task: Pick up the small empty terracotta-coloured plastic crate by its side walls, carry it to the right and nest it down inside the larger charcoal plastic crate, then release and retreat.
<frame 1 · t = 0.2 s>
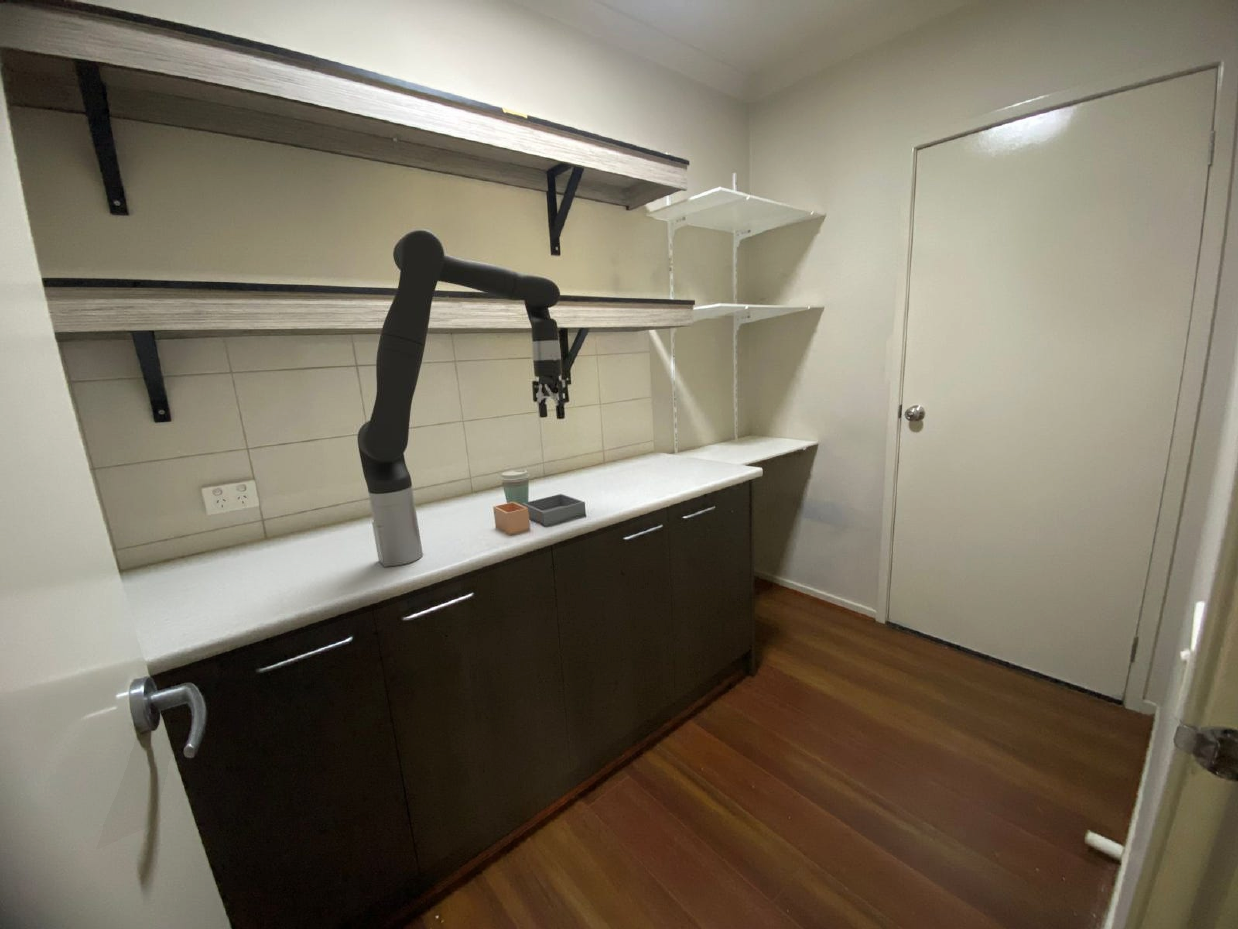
hand: (552, 418, 136), 28 cm above the table, fingers open, 8 cm apart
coffee cup: (518, 511, 149), on the table
big crate: (554, 515, 141), on the table
small crate: (512, 528, 133), on the table
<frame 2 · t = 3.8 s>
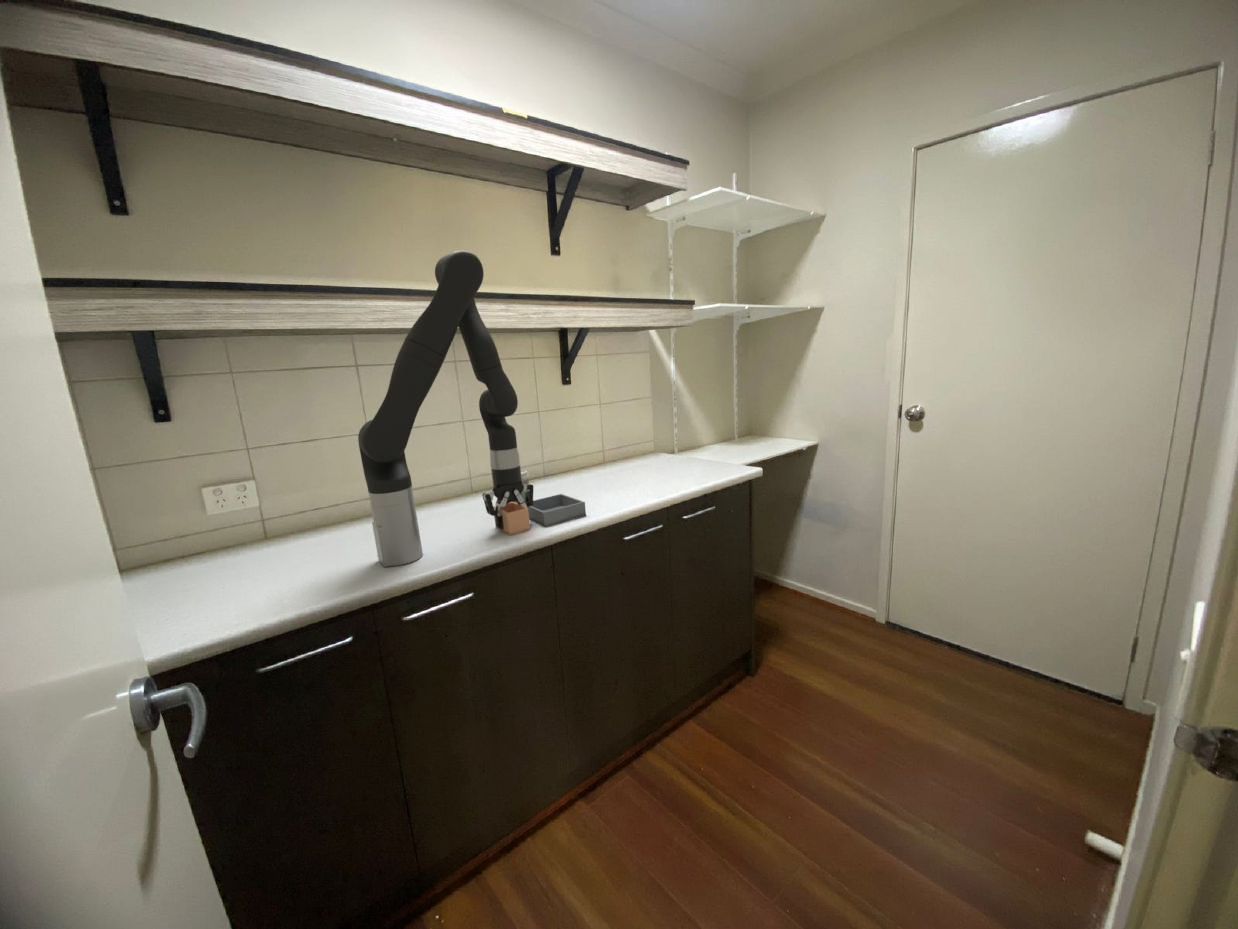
hand: (512, 525, 132), 1 cm above the table, fingers closed on small crate, 6 cm apart
small crate: (512, 528, 133), on the table, touching gripper
everything else where it was.
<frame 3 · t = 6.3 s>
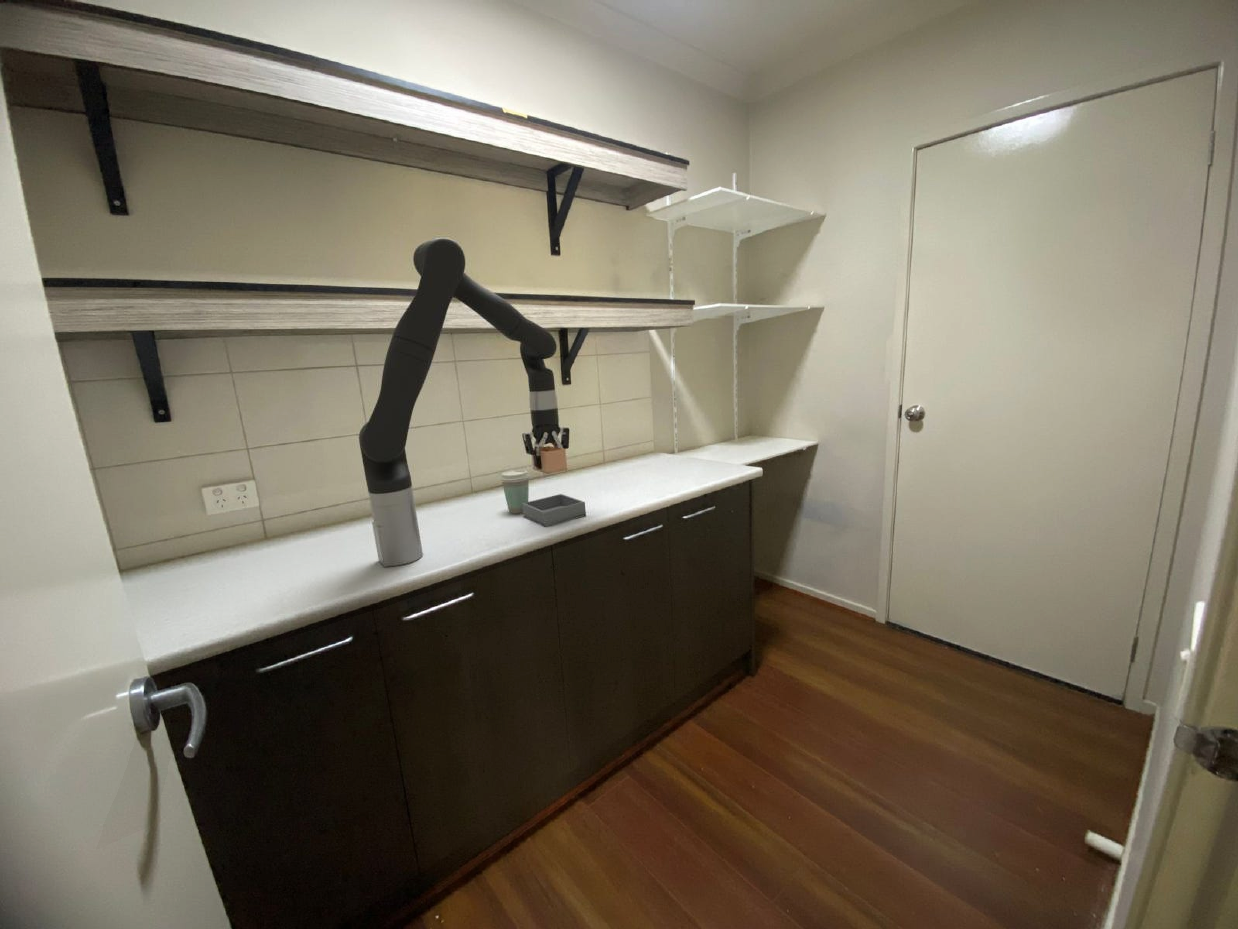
hand: (549, 466, 138), 15 cm above the table, fingers closed on small crate, 6 cm apart
small crate: (549, 469, 138), point 14 cm above the table, touching gripper
everything else where it was.
when the fingers open (3 cm above the table, at t = 9.3 s): small crate drops 1 cm, resting on big crate.
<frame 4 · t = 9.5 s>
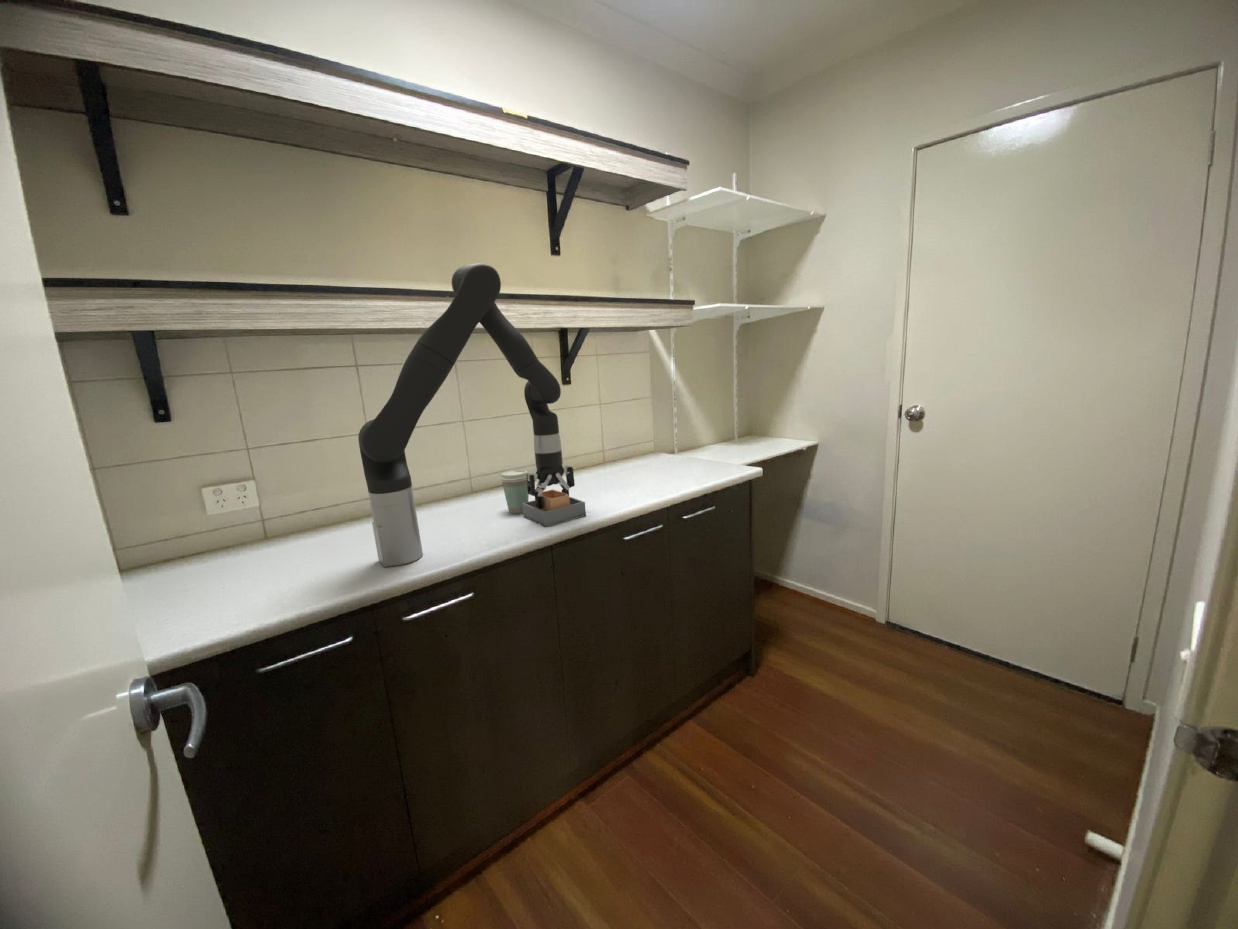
hand: (553, 505, 141), 3 cm above the table, fingers open, 8 cm apart
small crate: (553, 514, 141), point 1 cm above the table, touching big crate
everything else where it was.
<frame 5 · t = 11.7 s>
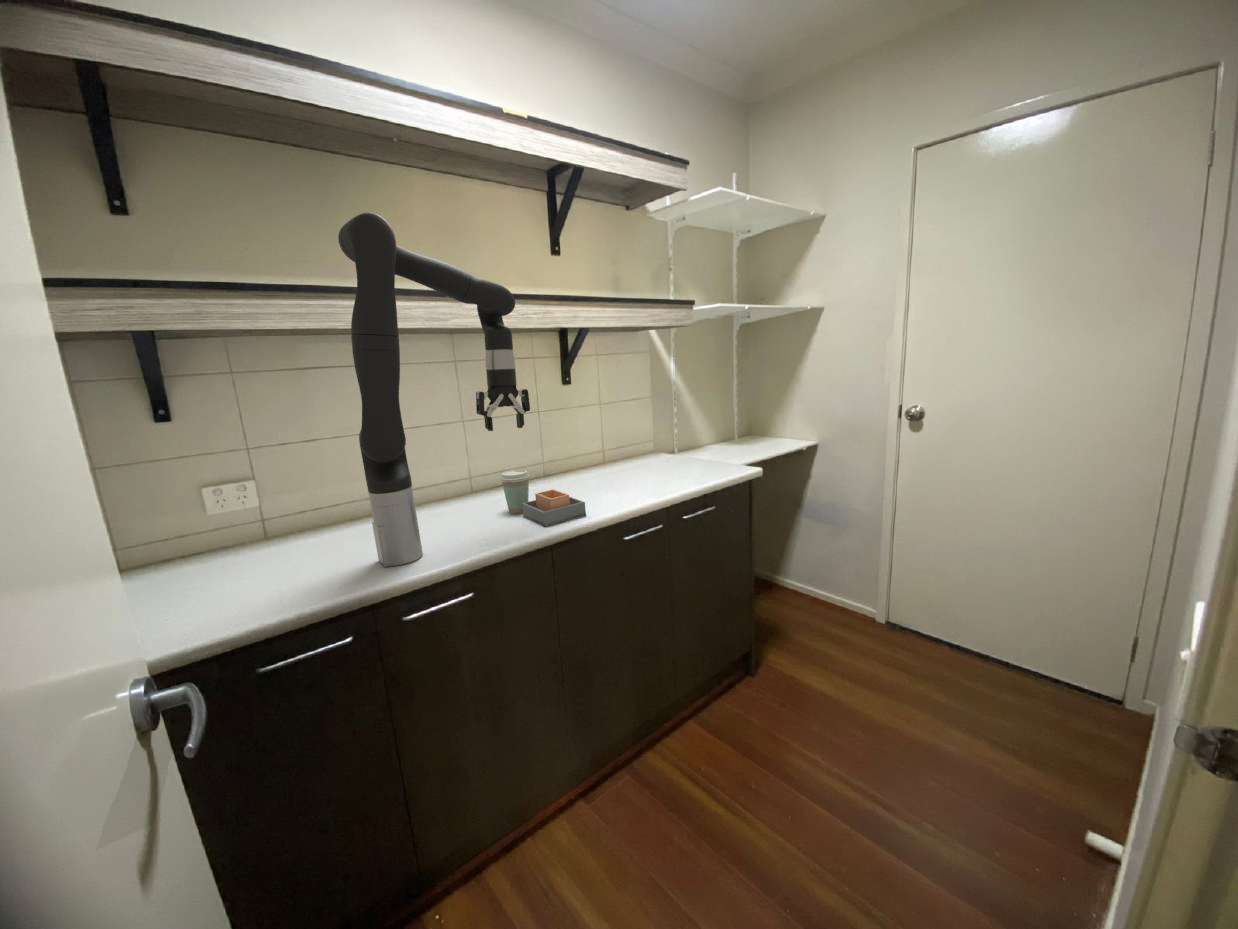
hand: (505, 429, 131), 27 cm above the table, fingers open, 8 cm apart
nothing on the table moved.
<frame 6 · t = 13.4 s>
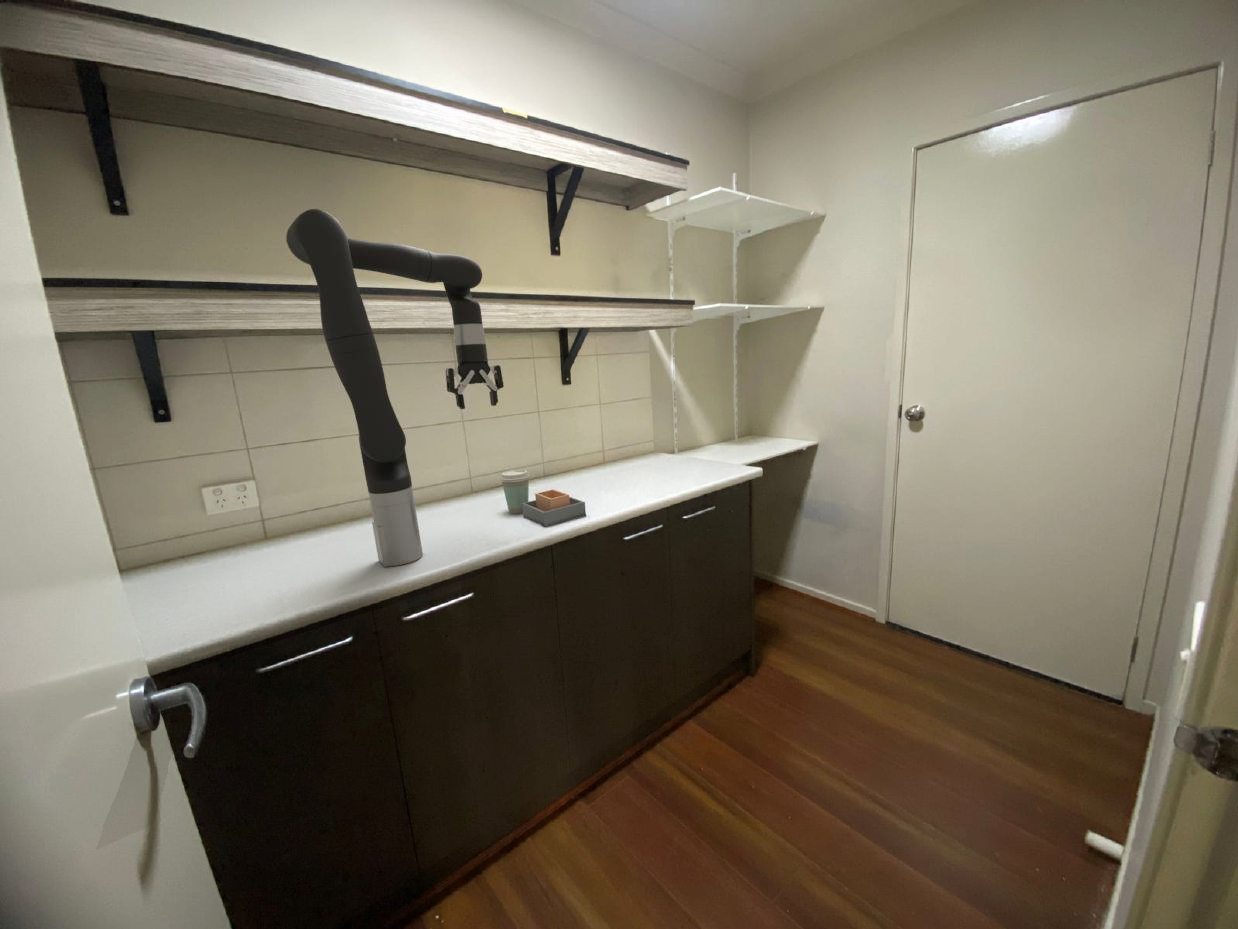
hand: (478, 407, 128), 33 cm above the table, fingers open, 8 cm apart
nothing on the table moved.
at the end: small crate 0.1 cm off-centre on the big crate, point 0.6 cm above the big crate's base; small crate tilted 0°; the gripper is holding nothing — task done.
